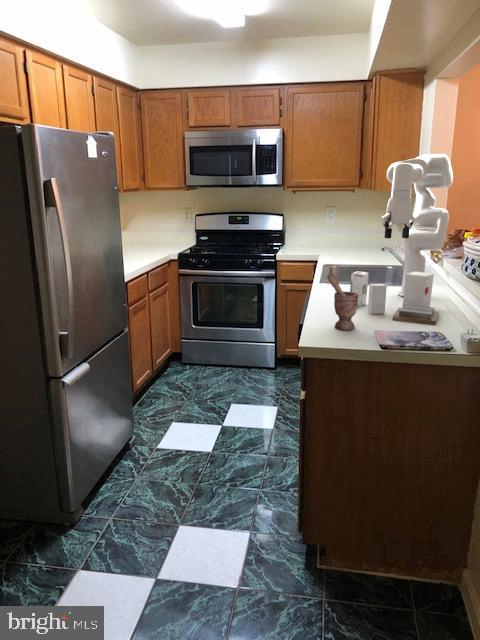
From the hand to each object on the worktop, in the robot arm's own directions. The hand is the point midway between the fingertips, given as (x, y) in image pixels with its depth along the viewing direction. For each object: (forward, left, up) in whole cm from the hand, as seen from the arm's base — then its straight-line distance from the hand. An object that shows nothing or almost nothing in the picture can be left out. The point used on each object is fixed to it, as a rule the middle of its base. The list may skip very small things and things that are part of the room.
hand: (396, 238), depth 210 cm
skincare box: (+8, -4, -31) cm, 32 cm away
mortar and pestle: (+36, -12, -31) cm, 49 cm away
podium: (+8, +12, -30) cm, 33 cm away
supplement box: (-10, +10, -31) cm, 33 cm away
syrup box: (-3, -14, -31) cm, 34 cm away
